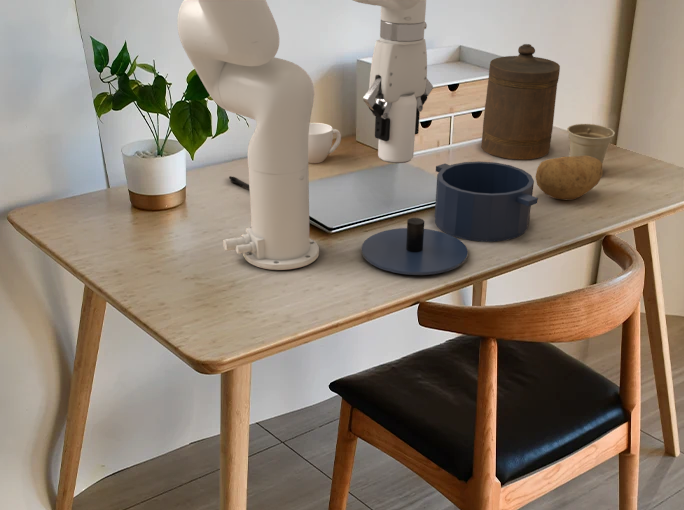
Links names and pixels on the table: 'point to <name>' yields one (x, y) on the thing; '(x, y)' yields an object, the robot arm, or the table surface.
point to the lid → (414, 250)
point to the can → (400, 131)
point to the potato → (568, 176)
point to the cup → (321, 141)
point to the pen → (239, 182)
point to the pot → (483, 200)
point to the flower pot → (589, 140)
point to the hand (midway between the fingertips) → (396, 135)
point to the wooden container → (520, 105)
